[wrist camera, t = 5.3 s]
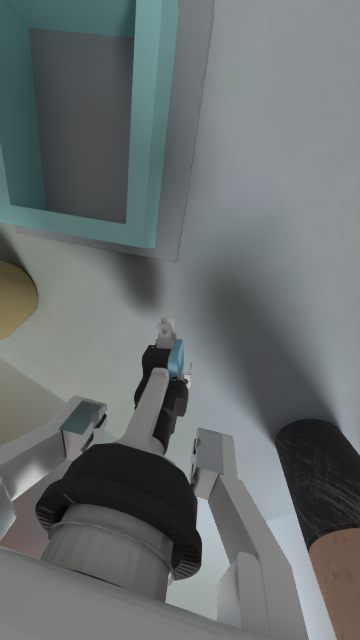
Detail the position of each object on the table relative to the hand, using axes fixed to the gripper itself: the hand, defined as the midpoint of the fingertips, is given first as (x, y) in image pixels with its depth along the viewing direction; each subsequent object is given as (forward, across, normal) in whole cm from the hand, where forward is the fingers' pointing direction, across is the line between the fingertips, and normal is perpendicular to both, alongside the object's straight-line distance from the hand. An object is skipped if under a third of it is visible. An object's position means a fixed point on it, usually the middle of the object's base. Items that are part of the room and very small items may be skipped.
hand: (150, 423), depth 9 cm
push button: (+6, 0, 0) cm, 6 cm away
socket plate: (+11, +9, -13) cm, 19 cm away
